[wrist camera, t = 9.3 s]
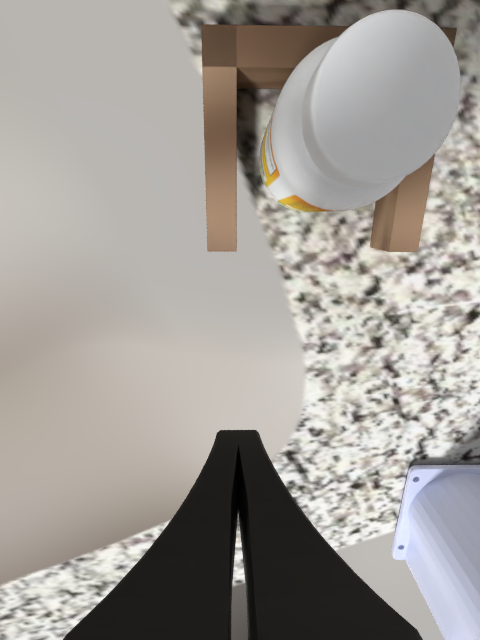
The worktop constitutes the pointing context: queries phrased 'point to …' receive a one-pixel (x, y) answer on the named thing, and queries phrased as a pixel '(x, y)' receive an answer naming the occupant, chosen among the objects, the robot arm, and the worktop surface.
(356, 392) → the worktop surface
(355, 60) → the supplement bottle
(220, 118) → the wooden u-shaped bracket
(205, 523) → the robot arm
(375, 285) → the worktop surface
